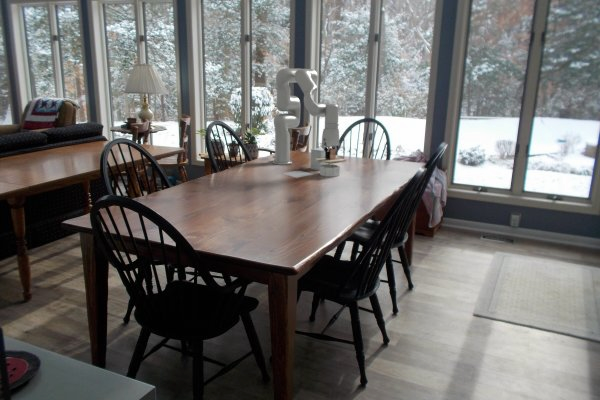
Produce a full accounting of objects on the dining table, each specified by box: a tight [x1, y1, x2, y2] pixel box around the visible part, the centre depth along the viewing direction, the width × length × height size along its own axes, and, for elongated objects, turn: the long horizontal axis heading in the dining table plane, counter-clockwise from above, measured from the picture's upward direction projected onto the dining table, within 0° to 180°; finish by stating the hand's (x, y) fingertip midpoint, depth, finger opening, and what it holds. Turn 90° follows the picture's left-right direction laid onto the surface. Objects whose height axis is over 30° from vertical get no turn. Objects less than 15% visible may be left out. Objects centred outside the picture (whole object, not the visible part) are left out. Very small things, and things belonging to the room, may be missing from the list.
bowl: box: [319, 163, 341, 178], centre depth 288 cm, size 11×11×6 cm
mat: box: [280, 170, 315, 179], centre depth 289 cm, size 14×14×1 cm
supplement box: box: [310, 147, 328, 171], centre depth 303 cm, size 7×7×13 cm
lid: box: [314, 147, 347, 164], centre depth 286 cm, size 13×13×7 cm
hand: (330, 157), depth 286 cm, fingers closed on lid, 4 cm apart
